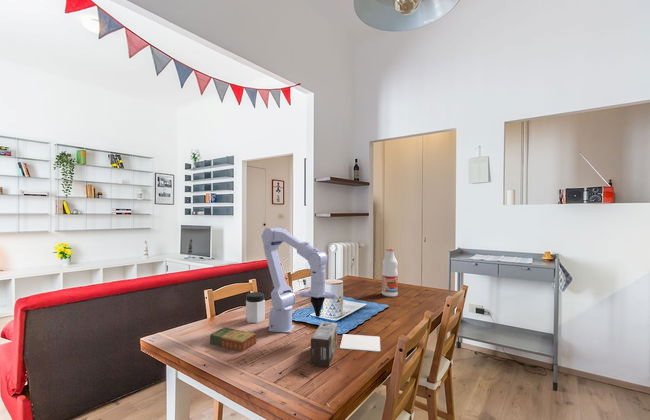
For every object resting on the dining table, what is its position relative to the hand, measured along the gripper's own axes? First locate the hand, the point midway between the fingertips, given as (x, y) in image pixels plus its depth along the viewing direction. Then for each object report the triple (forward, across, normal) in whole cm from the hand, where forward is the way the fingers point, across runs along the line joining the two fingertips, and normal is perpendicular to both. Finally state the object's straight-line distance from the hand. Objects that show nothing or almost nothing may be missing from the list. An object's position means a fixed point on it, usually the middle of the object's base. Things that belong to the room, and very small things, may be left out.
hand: (317, 316), depth 125 cm
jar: (+10, -32, +16) cm, 38 cm away
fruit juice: (+10, +31, +71) cm, 78 cm away
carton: (+10, -32, -9) cm, 34 cm away
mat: (+10, +17, 0) cm, 19 cm away
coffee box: (+5, +5, -4) cm, 8 cm away
